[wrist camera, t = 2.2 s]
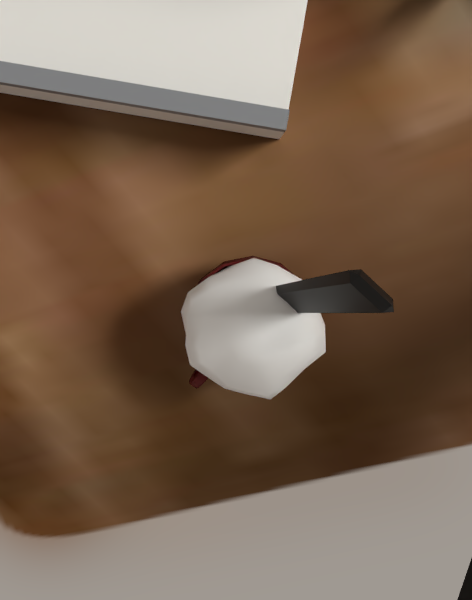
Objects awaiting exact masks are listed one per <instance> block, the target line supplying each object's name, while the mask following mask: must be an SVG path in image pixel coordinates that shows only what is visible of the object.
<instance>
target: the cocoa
mask: <svg viewBox="0 0 472 600" xmlns="http://www.w3.org/2000/svg"><path fill="white" fill-rule="evenodd" d="M385 312H394V309H393V299H392V298H391V297H390V296H389V295H388V294H387V293H386V292H385V291H384V290H382V289H381V288H380V287H379V286H378V285H377V284H376V283H375V282H374V281H373V280H372V279H371V278H370V277H369V276H368V275H366V274H365V273H364V272H363V271H362V270H348V271H344V272H339V273H334V274H329V275H325V276H320V277H315V278H310V279H306V280H302V279H300V278H298V277H297V276H295V275H294V274H293V273H291V272H290V271H289V270H288V269H287V268H286V267H284V266H283V265H282V264H281V263H278V262H274V261H270V260H266V259H262V258H258V257H255V256H250V257H245V258H240V259H235V260H230V261H225V262H223V263H222V264H220V265H219V266H218V267H216V268H215V269H214V270H212V271H211V272H210V273H208V274H207V275H206V276H204V277H203V278H202V279H201V280H200V281H199V283H198V285H197V286H196V287H194V288H193V289H192V290H190V291H189V292H188V293H187V296H186V299H185V302H184V305H183V307H182V310H181V314H182V319H183V324H184V328H185V333H186V342H185V346H186V351H187V355H188V359H189V363H190V365H191V366H192V367H194V368H195V371H194V373H193V374H192V376H191V378H190V381H189V383H190V384H191V385H192V386H193V387H195V388H199V387H200V386H201V385H202V384H203V383H204V382H205V381H206V380H207V379H208V378H209V379H211V380H212V381H214V382H215V383H217V384H218V385H220V386H221V387H223V388H224V389H228V390H232V391H235V392H239V393H243V394H247V395H252V396H257V397H261V398H266V399H272V398H273V397H274V396H276V395H277V394H278V393H280V392H281V391H282V390H283V389H285V388H286V387H287V386H288V385H289V384H290V383H291V382H292V381H293V380H294V379H295V378H296V377H297V376H298V375H299V374H300V373H301V372H302V371H303V370H304V369H305V368H306V367H308V366H309V365H310V364H311V363H313V362H314V361H315V360H316V359H318V358H319V357H320V356H321V355H323V354H324V353H325V352H326V343H325V323H324V321H323V318H322V316H321V313H385Z"/></svg>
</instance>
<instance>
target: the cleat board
mask: <svg viewBox="0 0 472 600" xmlns="http://www.w3.org/2000/svg"><path fill="white" fill-rule="evenodd" d="M307 1H308V0H0V93H6V94H12V95H18V96H24V97H29V98H35V99H41V100H47V101H53V102H59V103H65V104H71V105H77V106H83V107H89V108H95V109H101V110H107V111H113V112H119V113H125V114H131V115H137V116H143V117H149V118H155V119H161V120H167V121H173V122H179V123H185V124H191V125H197V126H203V127H209V128H214V129H220V130H226V131H232V132H238V133H244V134H250V135H256V136H262V137H268V138H274V139H280V138H281V136H282V135H283V134H284V132H285V131H286V127H287V122H288V116H289V110H288V109H289V103H290V97H291V92H292V86H293V80H294V75H295V69H296V63H297V58H298V52H299V46H300V41H301V35H302V29H303V24H304V18H305V12H306V6H307Z"/></svg>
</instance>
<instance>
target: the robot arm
mask: <svg viewBox="0 0 472 600" xmlns="http://www.w3.org/2000/svg"><path fill="white" fill-rule="evenodd" d="M458 600H472V559H471V562H470V565H469V568H468V571H467V573H466V576H465V580H464V582H463V586H462V588H461V591H460V594H459V597H458Z"/></svg>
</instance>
